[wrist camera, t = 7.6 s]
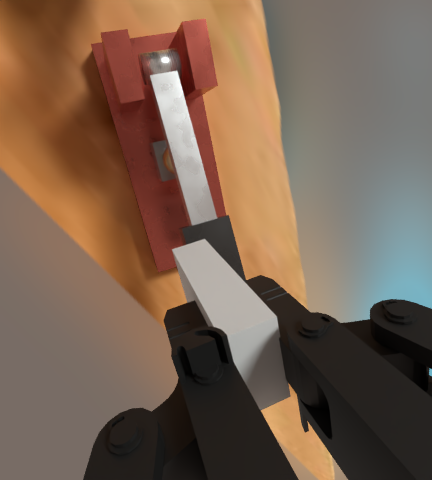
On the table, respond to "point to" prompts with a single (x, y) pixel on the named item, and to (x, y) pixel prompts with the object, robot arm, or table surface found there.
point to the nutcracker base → (159, 126)
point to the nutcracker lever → (187, 156)
